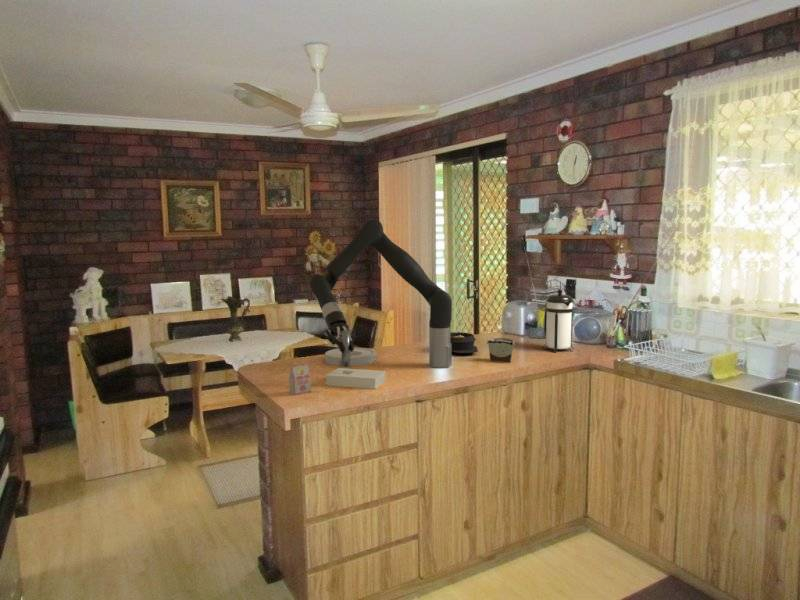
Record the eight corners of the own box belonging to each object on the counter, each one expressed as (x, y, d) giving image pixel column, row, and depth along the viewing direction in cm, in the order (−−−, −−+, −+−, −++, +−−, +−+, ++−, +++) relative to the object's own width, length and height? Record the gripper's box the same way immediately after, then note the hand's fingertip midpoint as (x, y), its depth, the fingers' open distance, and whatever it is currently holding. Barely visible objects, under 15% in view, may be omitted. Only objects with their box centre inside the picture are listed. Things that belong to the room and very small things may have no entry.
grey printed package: (289, 393, 208) (288, 366, 207) (305, 390, 213) (305, 363, 211) (294, 395, 206) (293, 368, 204) (310, 392, 210) (310, 365, 209)
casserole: (487, 355, 271) (487, 337, 270) (451, 358, 265) (451, 340, 264) (464, 345, 295) (464, 329, 294) (431, 348, 288) (431, 331, 287)
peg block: (385, 381, 225) (385, 371, 224) (375, 388, 213) (375, 378, 213) (338, 377, 231) (338, 368, 230) (326, 385, 219) (325, 375, 219)
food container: (517, 360, 259) (517, 338, 258) (513, 363, 254) (514, 341, 252) (490, 358, 264) (490, 336, 263) (486, 360, 259) (487, 339, 258)
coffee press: (578, 348, 285) (580, 288, 281) (569, 354, 271) (570, 291, 268) (544, 345, 294) (545, 287, 290) (533, 350, 281) (535, 289, 277)
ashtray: (385, 362, 258) (385, 353, 258) (339, 369, 246) (338, 360, 246) (360, 353, 278) (360, 345, 277) (317, 359, 266) (316, 351, 265)
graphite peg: (351, 365, 223) (350, 330, 222) (348, 367, 220) (347, 331, 219) (343, 364, 224) (343, 329, 223) (340, 366, 221) (339, 331, 220)
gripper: (320, 311, 222) (334, 347, 214) (352, 308, 230) (367, 343, 221) (314, 323, 227) (328, 358, 219) (346, 320, 235) (360, 354, 226)
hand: (348, 350), depth 220 cm, fingers closed on graphite peg, 3 cm apart
